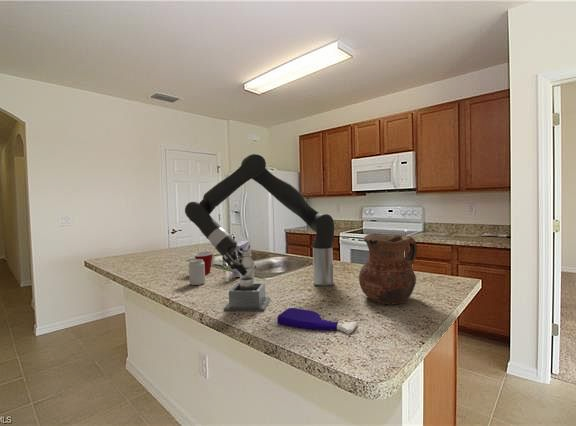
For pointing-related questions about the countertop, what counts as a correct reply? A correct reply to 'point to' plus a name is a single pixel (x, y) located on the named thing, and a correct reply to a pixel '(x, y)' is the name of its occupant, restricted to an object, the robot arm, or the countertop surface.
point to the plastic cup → (205, 259)
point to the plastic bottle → (248, 278)
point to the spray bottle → (311, 321)
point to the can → (197, 272)
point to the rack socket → (247, 299)
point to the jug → (388, 268)
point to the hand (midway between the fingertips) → (250, 271)
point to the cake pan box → (246, 246)
